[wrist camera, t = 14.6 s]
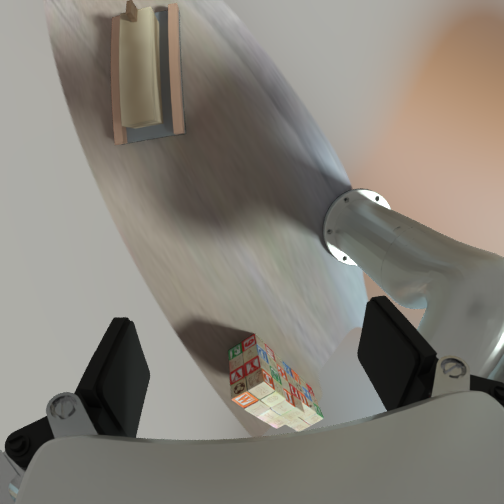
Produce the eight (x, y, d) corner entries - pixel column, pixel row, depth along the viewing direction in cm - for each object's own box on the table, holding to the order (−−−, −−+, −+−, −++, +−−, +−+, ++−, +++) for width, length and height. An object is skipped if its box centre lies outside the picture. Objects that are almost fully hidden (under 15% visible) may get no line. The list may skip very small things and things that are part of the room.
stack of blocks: (312, 387, 57) (328, 430, 46) (288, 400, 58) (300, 444, 46) (254, 332, 49) (264, 381, 38) (226, 350, 50) (230, 400, 39)
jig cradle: (179, 11, 29) (176, 3, 26) (185, 133, 36) (183, 132, 34) (118, 24, 28) (112, 17, 26) (122, 144, 36) (114, 144, 33)
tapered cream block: (159, 23, 29) (145, -4, 20) (163, 123, 35) (147, 117, 26) (132, 29, 28) (113, 5, 20) (135, 128, 34) (113, 124, 26)
